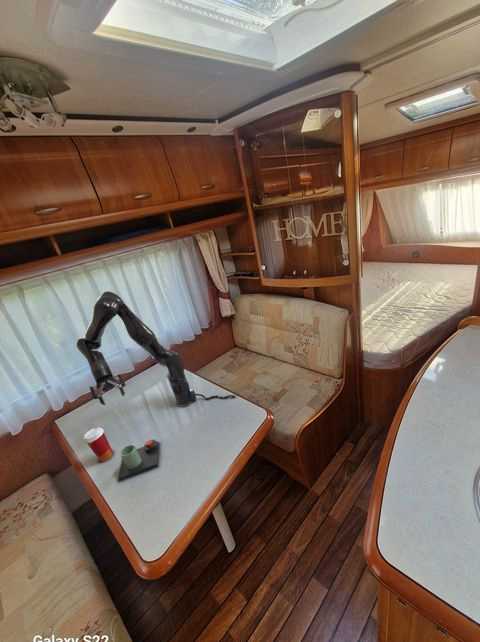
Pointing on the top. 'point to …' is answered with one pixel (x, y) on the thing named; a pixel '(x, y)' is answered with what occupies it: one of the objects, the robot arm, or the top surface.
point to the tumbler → (130, 456)
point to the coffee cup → (98, 443)
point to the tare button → (149, 443)
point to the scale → (147, 463)
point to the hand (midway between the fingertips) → (113, 399)
